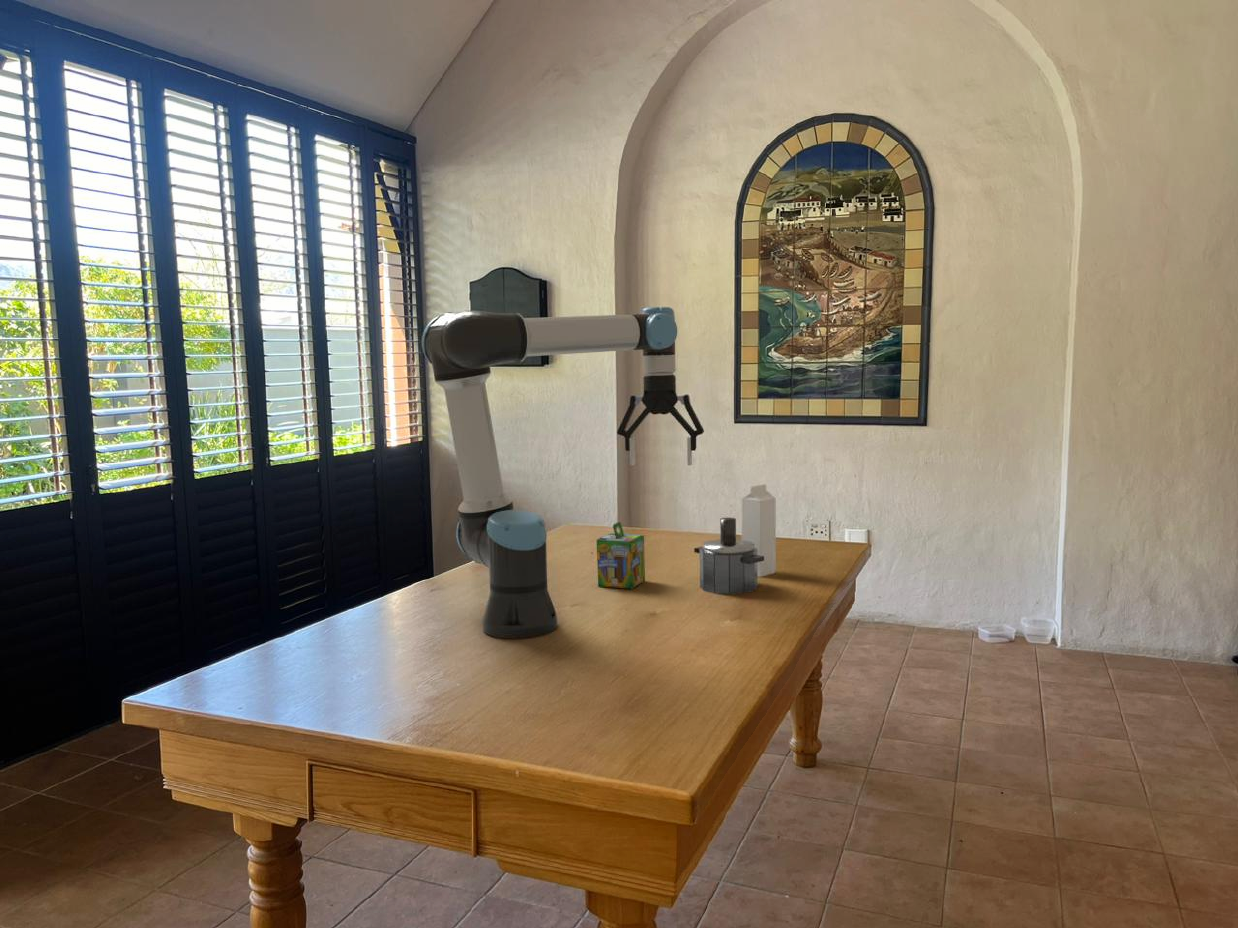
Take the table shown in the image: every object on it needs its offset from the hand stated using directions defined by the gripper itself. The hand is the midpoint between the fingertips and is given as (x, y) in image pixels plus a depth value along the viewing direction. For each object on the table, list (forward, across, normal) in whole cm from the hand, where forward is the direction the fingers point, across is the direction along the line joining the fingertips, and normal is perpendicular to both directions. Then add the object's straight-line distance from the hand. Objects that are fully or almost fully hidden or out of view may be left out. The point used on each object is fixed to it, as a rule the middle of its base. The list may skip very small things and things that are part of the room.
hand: (661, 464), depth 221 cm
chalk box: (+29, +10, +1) cm, 31 cm away
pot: (+29, -16, +2) cm, 33 cm away
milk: (+29, -22, -13) cm, 39 cm away
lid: (+21, -16, +2) cm, 26 cm away
